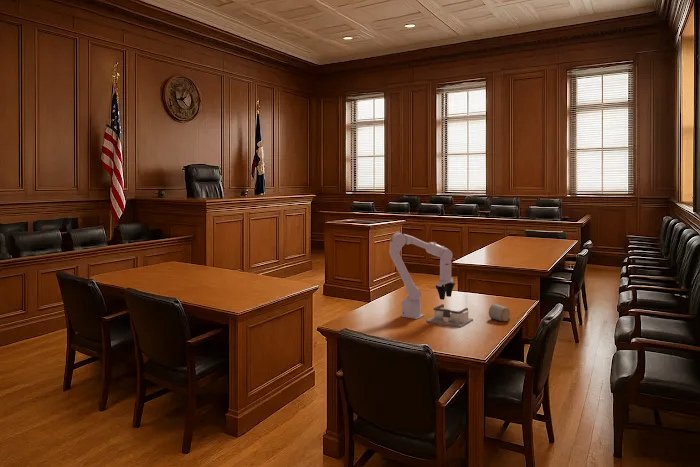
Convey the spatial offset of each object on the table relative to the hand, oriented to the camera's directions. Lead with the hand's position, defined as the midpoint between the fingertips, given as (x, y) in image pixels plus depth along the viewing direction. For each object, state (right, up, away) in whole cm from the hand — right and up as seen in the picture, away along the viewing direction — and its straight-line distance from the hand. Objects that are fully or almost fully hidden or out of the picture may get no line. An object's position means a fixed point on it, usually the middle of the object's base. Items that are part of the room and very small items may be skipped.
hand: (445, 297), depth 261 cm
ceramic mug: (+26, -10, -7) cm, 29 cm away
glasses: (+1, -9, -8) cm, 12 cm away
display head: (+1, -10, -9) cm, 13 cm away
